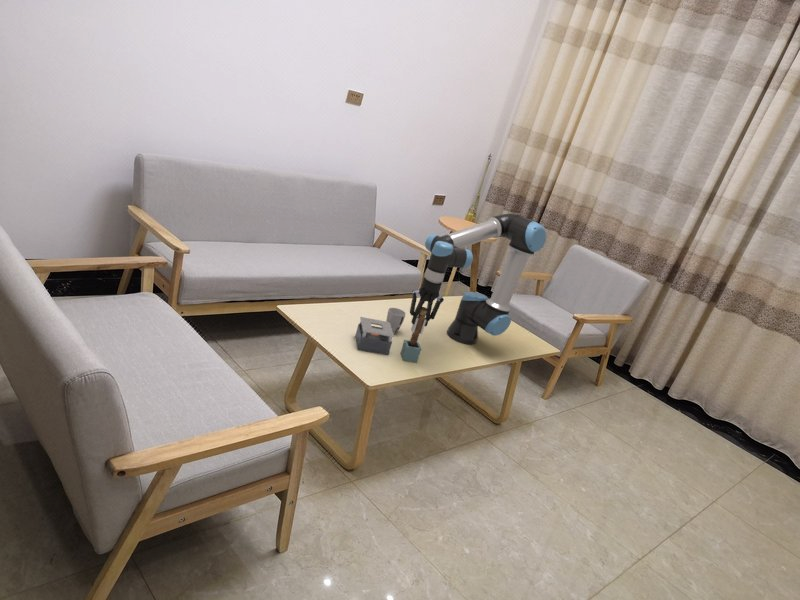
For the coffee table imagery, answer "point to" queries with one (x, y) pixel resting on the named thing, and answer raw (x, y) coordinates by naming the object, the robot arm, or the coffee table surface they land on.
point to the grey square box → (374, 336)
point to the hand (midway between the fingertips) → (416, 331)
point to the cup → (395, 318)
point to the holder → (410, 352)
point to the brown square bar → (418, 327)
